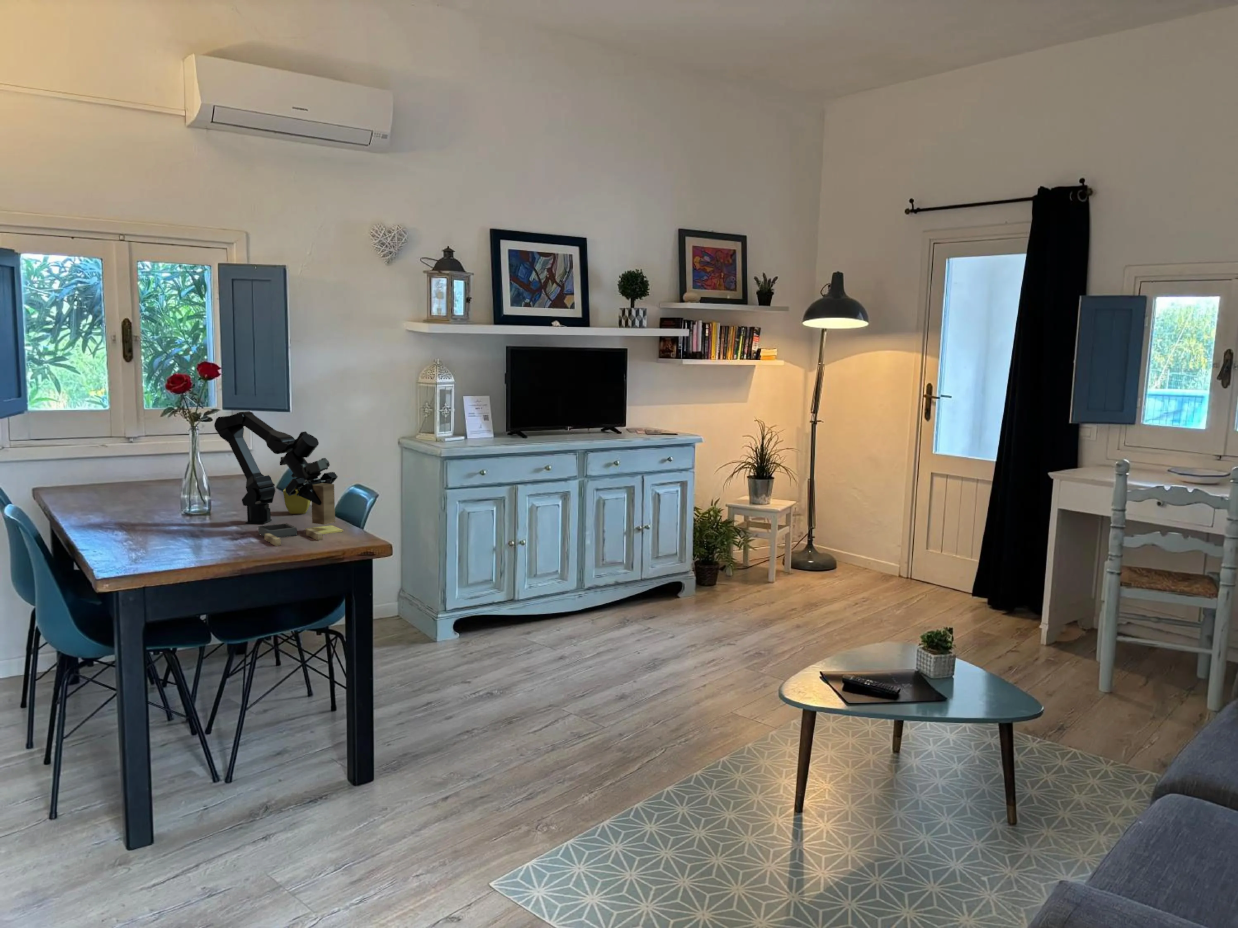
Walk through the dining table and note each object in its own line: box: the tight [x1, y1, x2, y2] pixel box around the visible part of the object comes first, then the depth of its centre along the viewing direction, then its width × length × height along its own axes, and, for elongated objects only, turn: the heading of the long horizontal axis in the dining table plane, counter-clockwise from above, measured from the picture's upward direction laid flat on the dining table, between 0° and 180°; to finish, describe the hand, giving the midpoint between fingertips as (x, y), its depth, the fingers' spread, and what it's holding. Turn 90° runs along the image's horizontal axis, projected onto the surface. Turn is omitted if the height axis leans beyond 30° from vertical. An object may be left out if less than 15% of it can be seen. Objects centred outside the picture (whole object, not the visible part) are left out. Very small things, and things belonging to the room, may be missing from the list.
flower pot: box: [282, 488, 312, 515], centre depth 321 cm, size 9×9×9 cm
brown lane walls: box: [263, 527, 324, 547], centre depth 279 cm, size 10×14×2 cm
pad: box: [304, 524, 344, 535], centre depth 293 cm, size 9×9×1 cm
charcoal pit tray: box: [257, 522, 298, 538], centre depth 286 cm, size 9×9×2 cm
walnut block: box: [311, 483, 336, 526], centre depth 292 cm, size 5×5×12 cm
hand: (326, 503), depth 291 cm, fingers closed on walnut block, 5 cm apart
